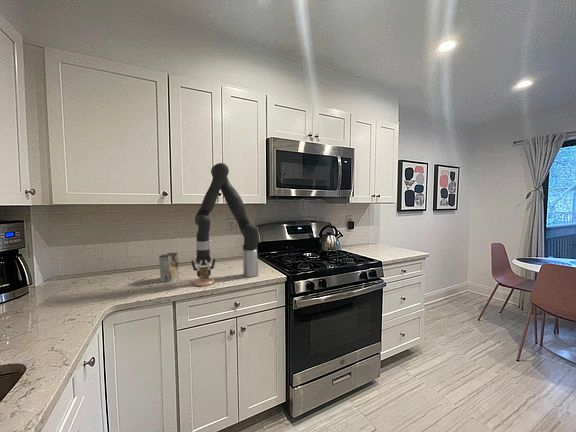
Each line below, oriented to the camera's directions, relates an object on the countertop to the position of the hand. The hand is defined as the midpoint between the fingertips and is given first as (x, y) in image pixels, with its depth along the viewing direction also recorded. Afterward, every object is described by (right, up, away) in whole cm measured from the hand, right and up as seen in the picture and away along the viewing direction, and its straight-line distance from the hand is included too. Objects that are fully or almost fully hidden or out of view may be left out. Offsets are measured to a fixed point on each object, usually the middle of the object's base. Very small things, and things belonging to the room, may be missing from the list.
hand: (203, 276), depth 152 cm
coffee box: (-24, -4, +7) cm, 25 cm away
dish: (0, -4, 0) cm, 4 cm away
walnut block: (0, -1, 0) cm, 1 cm away
